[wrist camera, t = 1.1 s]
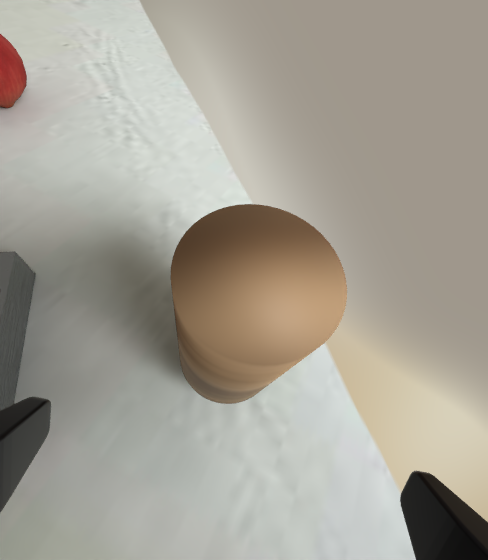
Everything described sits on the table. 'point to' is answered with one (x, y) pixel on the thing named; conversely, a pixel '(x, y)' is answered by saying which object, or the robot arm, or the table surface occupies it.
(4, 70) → the red pomegranate
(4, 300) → the socket block
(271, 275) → the walnut pin
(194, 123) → the table surface
